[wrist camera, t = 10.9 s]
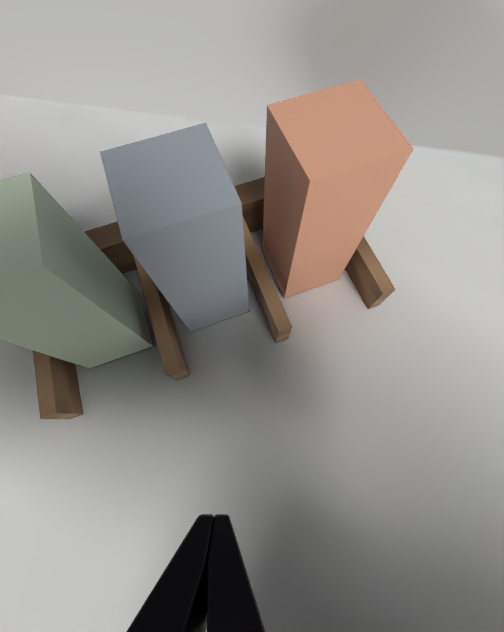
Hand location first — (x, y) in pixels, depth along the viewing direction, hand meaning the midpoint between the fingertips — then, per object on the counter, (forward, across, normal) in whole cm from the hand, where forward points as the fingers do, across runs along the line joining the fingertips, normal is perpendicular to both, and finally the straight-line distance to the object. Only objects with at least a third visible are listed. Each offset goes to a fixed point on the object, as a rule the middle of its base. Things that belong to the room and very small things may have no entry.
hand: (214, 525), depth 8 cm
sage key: (+12, +8, -2) cm, 14 cm away
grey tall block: (+13, +2, -5) cm, 14 cm away
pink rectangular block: (+14, -4, -7) cm, 16 cm away
